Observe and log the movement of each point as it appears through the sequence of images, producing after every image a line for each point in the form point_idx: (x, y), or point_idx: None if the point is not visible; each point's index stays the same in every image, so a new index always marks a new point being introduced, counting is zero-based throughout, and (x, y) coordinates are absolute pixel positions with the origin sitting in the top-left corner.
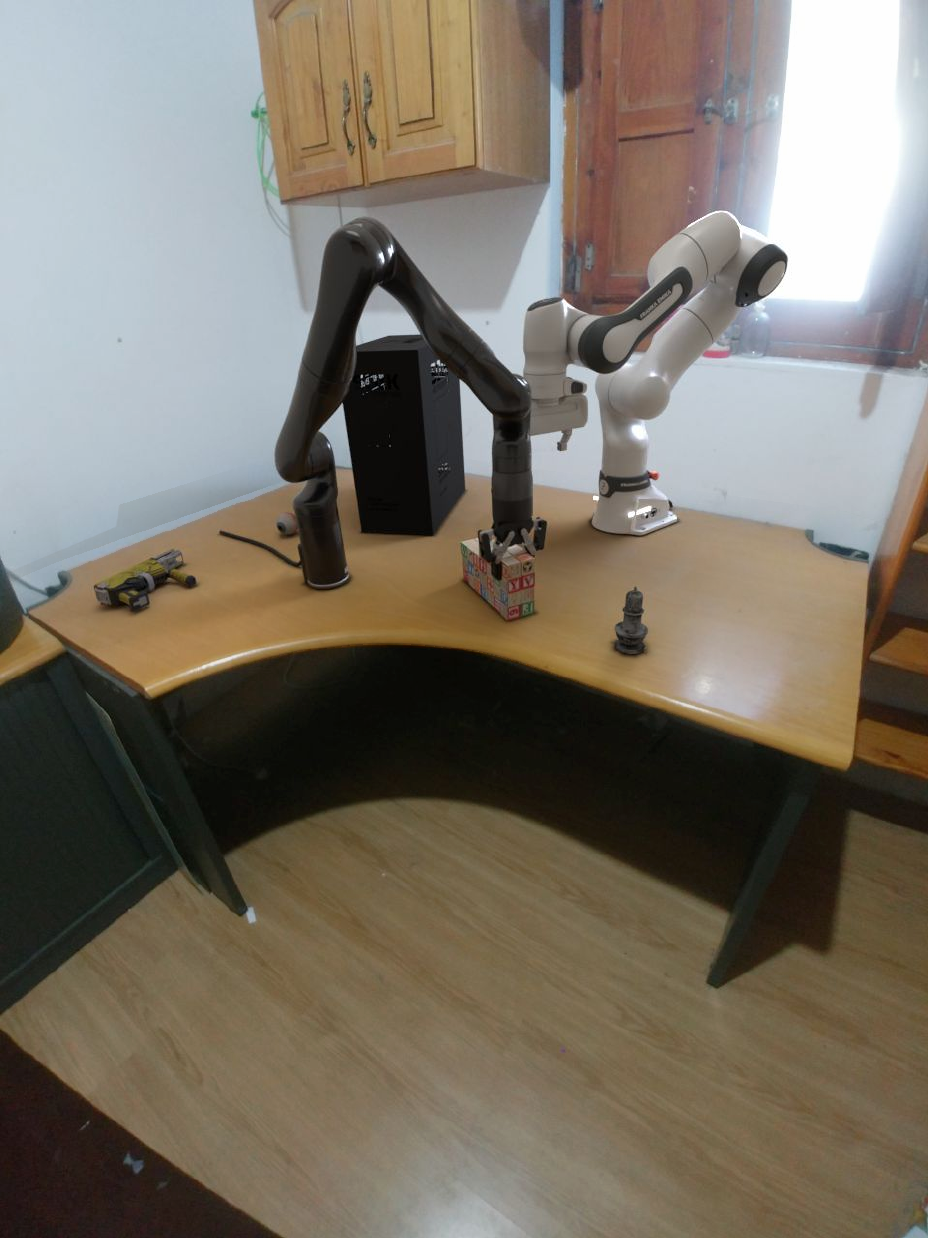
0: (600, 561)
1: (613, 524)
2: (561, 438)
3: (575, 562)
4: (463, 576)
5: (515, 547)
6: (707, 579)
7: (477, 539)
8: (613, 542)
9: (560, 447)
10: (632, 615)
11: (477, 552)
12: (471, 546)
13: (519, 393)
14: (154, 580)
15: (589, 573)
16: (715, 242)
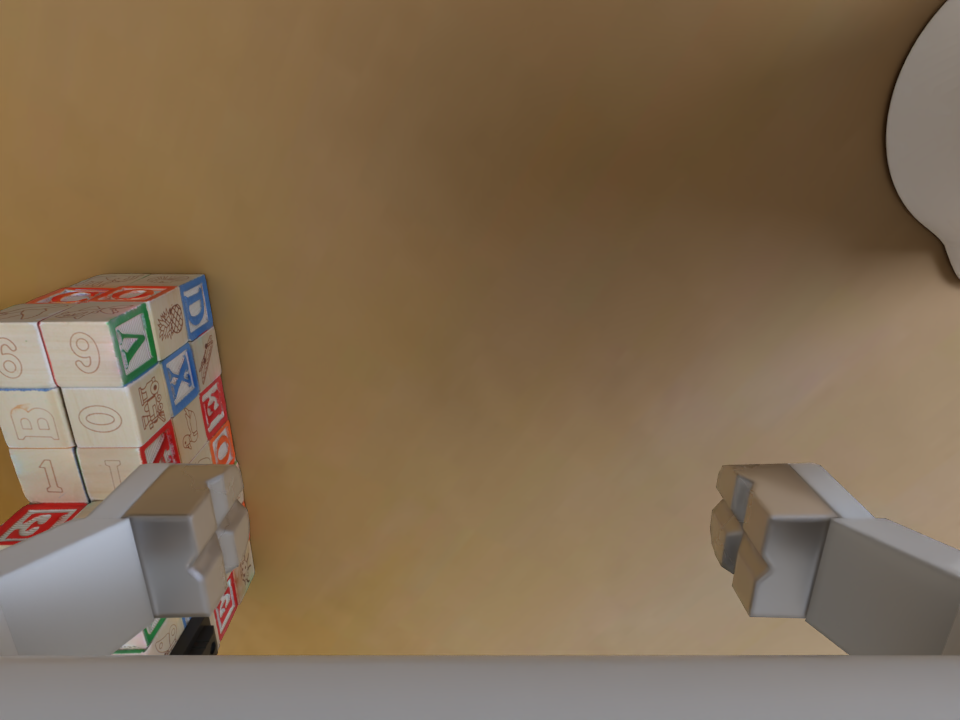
0: (645, 396)
1: (935, 191)
2: (873, 548)
3: (562, 357)
4: (92, 277)
5: (129, 647)
6: (809, 636)
7: (58, 341)
8: (821, 276)
9: (734, 545)
10: None
11: (27, 468)
12: (11, 401)
13: None
14: None
15: (547, 452)
16: None
